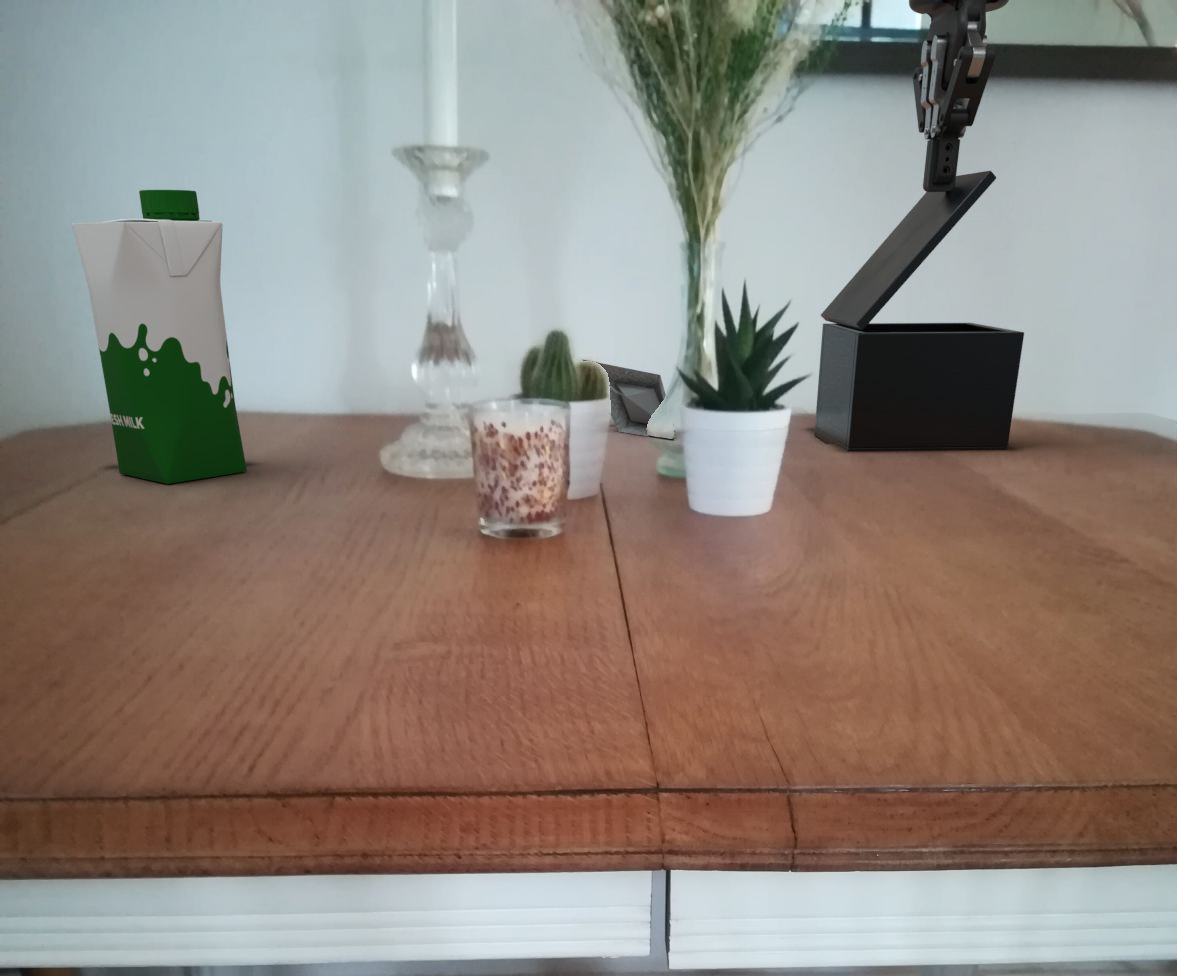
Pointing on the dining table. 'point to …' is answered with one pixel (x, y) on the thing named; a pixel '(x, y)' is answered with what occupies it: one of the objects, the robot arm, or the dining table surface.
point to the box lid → (905, 251)
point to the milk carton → (163, 339)
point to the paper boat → (633, 397)
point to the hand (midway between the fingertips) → (938, 191)
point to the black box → (917, 386)
